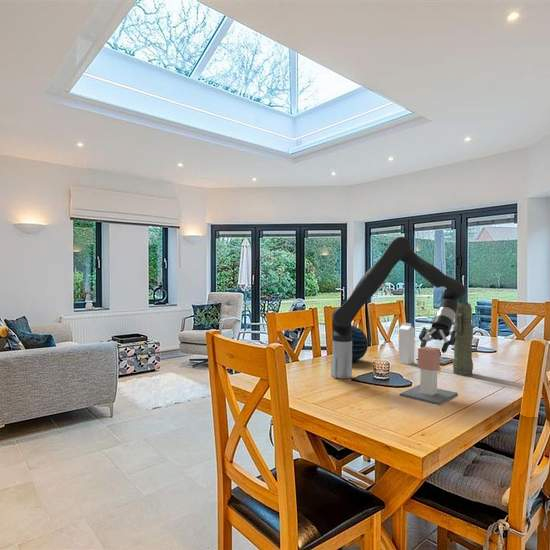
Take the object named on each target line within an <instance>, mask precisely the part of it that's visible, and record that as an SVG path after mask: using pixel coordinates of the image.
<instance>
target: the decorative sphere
mask: <svg viewBox="0 0 550 550" xmlns="http://www.w3.org/2000/svg"><path fill="white" fill-rule="evenodd" d="M351 330H352V363H354V362H357V361H359V360H361V359H362V358H363V357H364V356H365V355H366V353H367V351H368V349H369V348H368V347H369V346H368V345H369V342H368V338H367V336H366V333H365V332H363V330H362V329H361V328H360V327H357V326H355V325H351ZM331 347H332V348H331V349H332V350H333V336H332V338H331Z"/></svg>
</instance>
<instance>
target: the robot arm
mask: <svg viewBox="0 0 550 550" xmlns="http://www.w3.org/2000/svg"><path fill="white" fill-rule="evenodd" d="M409 240H410V239H408V238H407V237H405V236H397V237H395V238H393V239H392V240H391V242H390V243H389V245H388V246H387V248H386V249H385V251H384V252H383V254H382V255H381V257H380V258H378V260H377V261H376V262H374V264H373V265H371V266H370V268H369V269H368V270H367V271H366V272H365V273H364V275H363V276H362V277H361V278H360V279H359V281H358V283H356V285H355V287H354V289H353V291H352V293H351V295H350V296H349V297H348V298H347V299H346V301H344V303H343V304H342V305H340V306H338V307H336V308H335V309H334V310H333V311H332V316H331V319H332V320H331V323H332V324H331V325H332V326H331V329H332V330H331V334H332V337H333V349H332V355H330V376H332V378H334V379H342V380H345V379H351V378H353V362H352V330H351V326H352V322H353V321H354V319H355V317H357V315H358V313H359V312H360V310H361V308H362V307H363V306H364V305H365V304H367V302H368V301H369V300H370V299H371V298H372V297H373V296H374V295H375V293H376V292H377V291H379V289H380V288H381V287H382V286H383V284H384V283H385V281H386V279H387V278H388V277H389V275H390V273H391V271H392V270H393V269H394V268H395V266H396V265H397V264H398V262H400V261H401V262H403V263H404V264H405V265H407V266H409V267H410V268H411V269H412V270H414V271H415V272H417V274H418V275H420V276H421V277H422V278H423V279H425V280H426V281H427V282H429V283H430V284H431V285H432V286H434V287H435V288H437V289H438V288H441V287H443V288H445V289H444V290H443V292H442V294H441V301H440V302H441V303H440V304H439V307H438V309H437V312H436V313H435V315H434V316H435V317H434V318H433V321H432V323H431V327H430V328H428V329H427V328H426V326H423V327H422V329H421V332H420V333H419V335H418V339H419V341H420V347H419V348H422V347H427V343H428V342H431V341H432V340H435V341H442V340H443V341H444V342H443V344H442V347H441V349H440V350H441V351H440V352H441V353H444V354H445V353H446V352H447V351H448V348H449V347H450V346H453V347H454V344H455V340H456V336H457V334H456V332H455V330H453V329H452V328H453V325H454V323H455V314H456V311H457V308H458V304H457V303H458V301H459V300H460V299H461V298H462V297H464V296H465V295H466V293H467V289H466V286H465V285H464V284H463V282H460V281H459V280H457V279H455V278H453V277H451V276H449V275H446V274H445V273H443V272H442V270H440V269H439V268H437V267H436V266H435V265H434V264H432V263H430V262H429V261H426V260H425V259H424V258H423V257H420V256H419V255H418V254H416V252H414V251H413V250H412V249H411V242H410V241H409ZM451 329H452V330H451ZM449 336H450V338H449V340H448V337H449Z"/></svg>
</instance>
